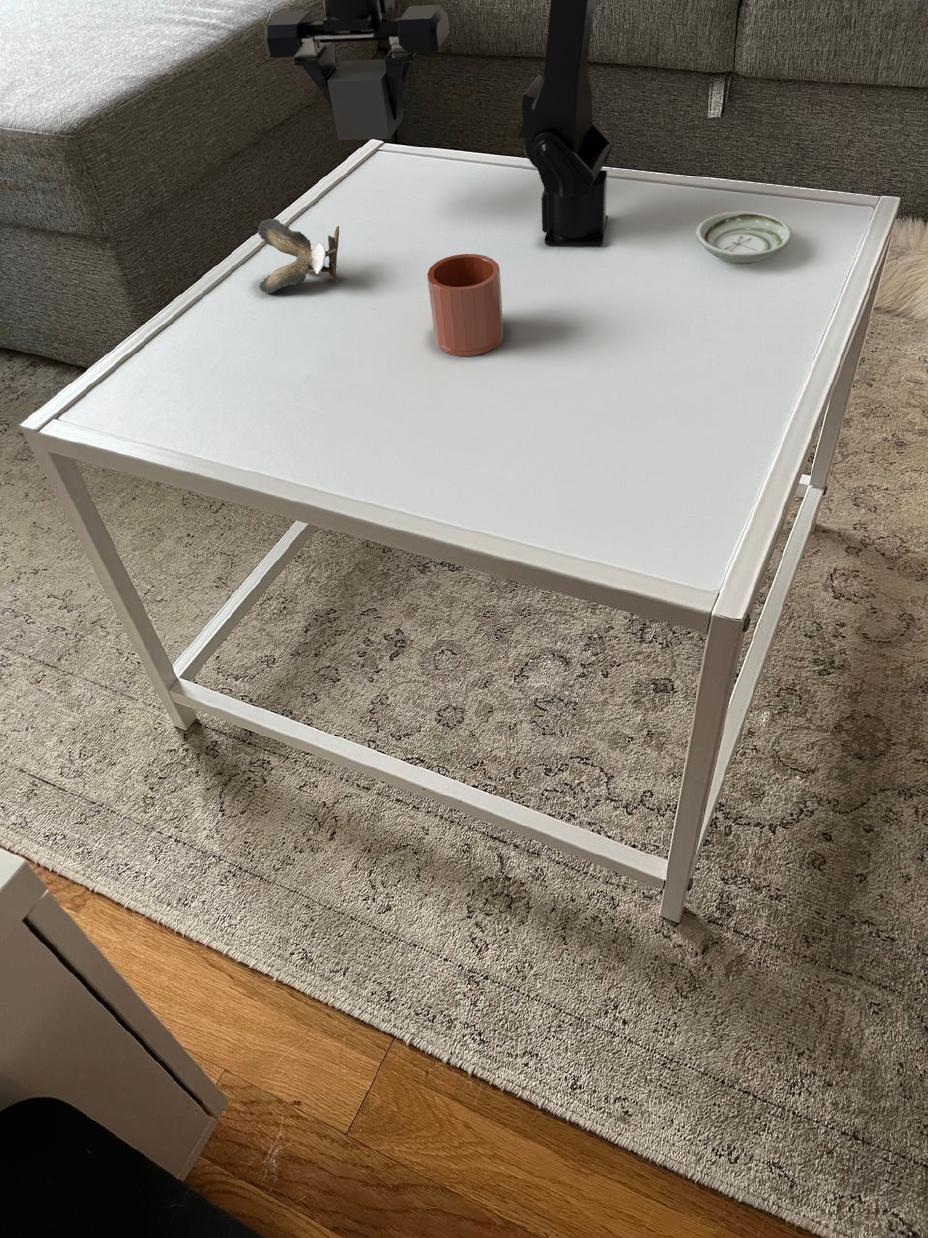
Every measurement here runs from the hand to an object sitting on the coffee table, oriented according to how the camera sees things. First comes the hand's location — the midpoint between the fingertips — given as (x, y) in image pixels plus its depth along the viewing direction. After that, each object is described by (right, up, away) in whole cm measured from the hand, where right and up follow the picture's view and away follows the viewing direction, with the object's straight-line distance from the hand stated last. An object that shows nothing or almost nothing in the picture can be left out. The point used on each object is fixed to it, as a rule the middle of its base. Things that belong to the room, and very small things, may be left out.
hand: (370, 118), depth 103 cm
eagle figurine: (-7, -18, 0) cm, 20 cm away
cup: (+11, -28, -11) cm, 32 cm away
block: (0, -1, +1) cm, 1 cm away
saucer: (+40, -17, -4) cm, 44 cm away
